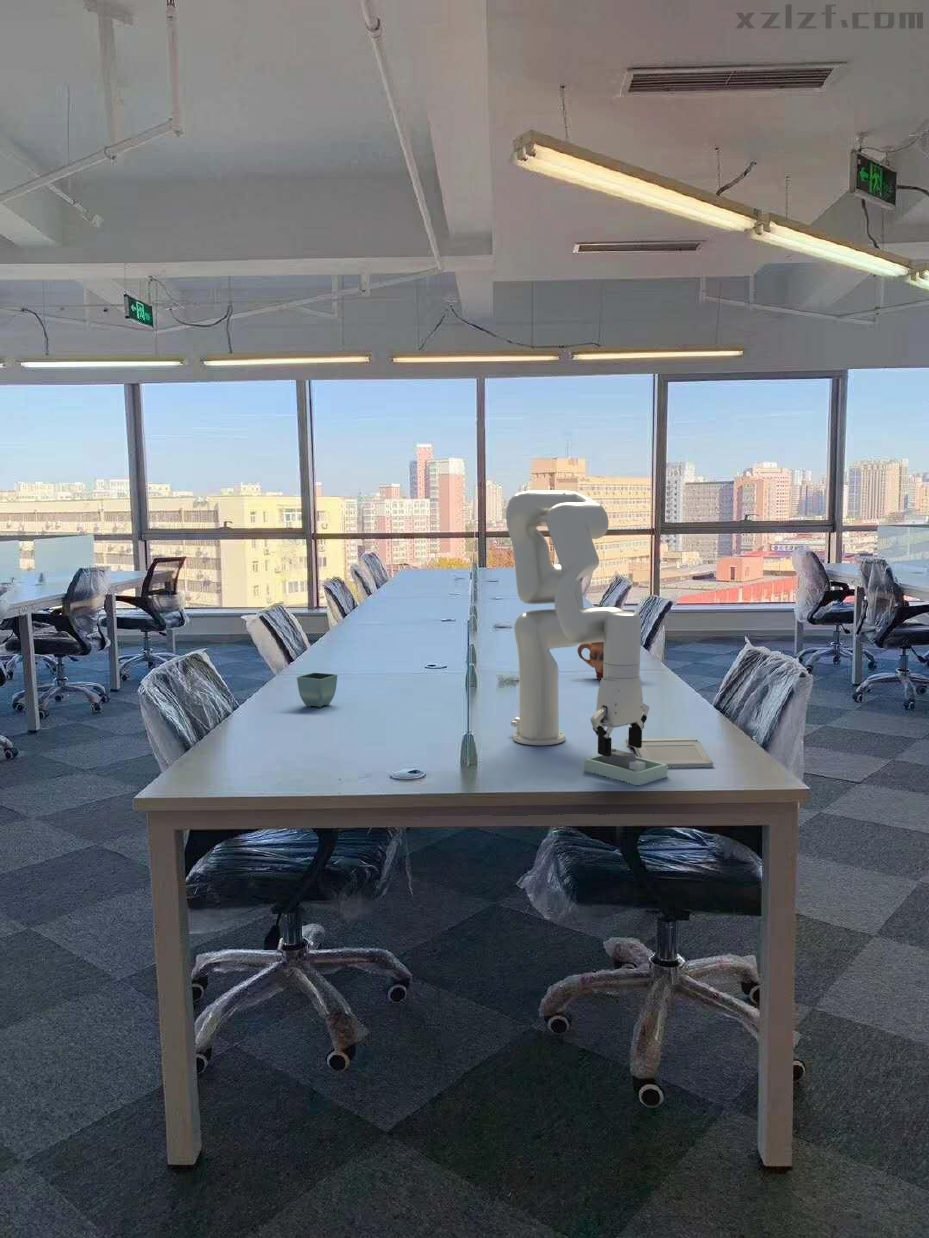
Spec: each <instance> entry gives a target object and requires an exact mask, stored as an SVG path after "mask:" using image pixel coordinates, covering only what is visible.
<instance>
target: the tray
mask: <svg viewBox="0 0 929 1238" xmlns="http://www.w3.org/2000/svg"><path fill="white" fill-rule="evenodd" d="M636 760H637V761H641V762H645V769H644V770H641V771H636V770H635V771H632V770H629V769H625V768H621V767H617V766H614V765H610V764H606V763H602V755H600V754H597V755H595V756H591V757H588V758H584V772H587V773H591V774H594V773H596V774H595V775H597V774H599V775H598V776H601V775H602V777H604V776H606V777H605V778H608V777H609V779H612V780H615V779H618V780H617V781H619V780H621V781H620V782H622V781H625V782H624V783H626V782H627V784H629V783H630V785H634V786H636V785H639V786H642V785H645V784H648V783H651V782H654V781H658V779H659V780H662V779H664V778H667V777H668V768H667V767H668V765H667V764H663V763H659V762H655V761H651V760H647V759H643V758H639V757H638V756H636Z"/></svg>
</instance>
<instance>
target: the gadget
mask: <svg viewBox="0 0 929 1238" xmlns="http://www.w3.org/2000/svg"><path fill="white" fill-rule="evenodd" d="M625 743H626V744H625V745H626V747H627V746H628V747H632V748H633V749H634V751H635V753H636V757H639V758H643V759H647V760H651V761H655V762H659V763H663V764H667V765H668V768H667V769H684V768H683V767H688V768H687V769H692V768H691V767H714V763H713V761H712V759H711V758H710V756H709V755H708V753H707V751H706V750H705V748H704V746H703V744H702V743H701V741H700V740H698V739H695V738H694V739H692V738H687V737H676V738H675V737H672V738H671V737H668V738H667V737H666V738H665V737H664V738H661V737H660V738H659V737H658V738H642V747H641V748H636V747H633V746H629V745H628V738H625ZM671 767H672V768H671ZM675 767H676V768H675ZM677 767H678V768H677ZM679 767H680V768H679ZM689 767H690V768H689Z"/></svg>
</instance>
